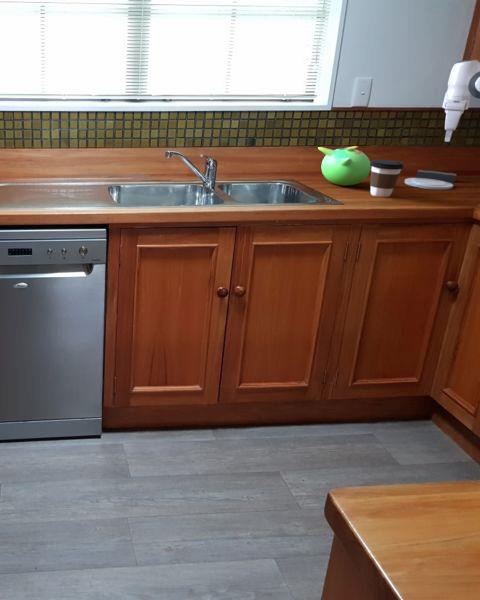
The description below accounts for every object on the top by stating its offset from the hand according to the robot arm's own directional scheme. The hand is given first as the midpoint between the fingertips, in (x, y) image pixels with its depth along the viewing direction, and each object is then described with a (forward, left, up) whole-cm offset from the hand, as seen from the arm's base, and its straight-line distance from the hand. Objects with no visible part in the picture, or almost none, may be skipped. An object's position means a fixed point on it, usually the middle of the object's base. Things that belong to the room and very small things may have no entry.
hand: (447, 140), depth 243 cm
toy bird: (+32, +36, -16) cm, 50 cm away
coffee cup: (+17, +46, -16) cm, 51 cm away
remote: (+1, 0, -16) cm, 16 cm away
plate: (+3, +14, -16) cm, 21 cm away
